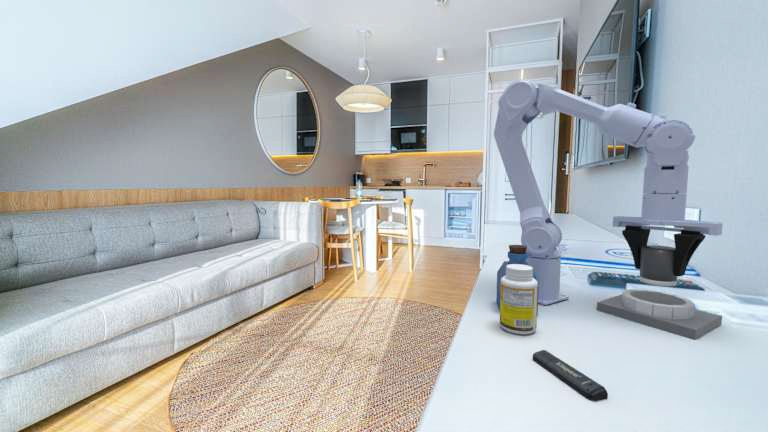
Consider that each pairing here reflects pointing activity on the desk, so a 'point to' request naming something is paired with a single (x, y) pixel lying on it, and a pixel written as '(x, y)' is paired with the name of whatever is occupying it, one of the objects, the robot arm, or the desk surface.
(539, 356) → the usb stick
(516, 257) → the perfume bottle
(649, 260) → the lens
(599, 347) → the desk surface
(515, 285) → the supplement bottle
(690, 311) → the ring holder base
